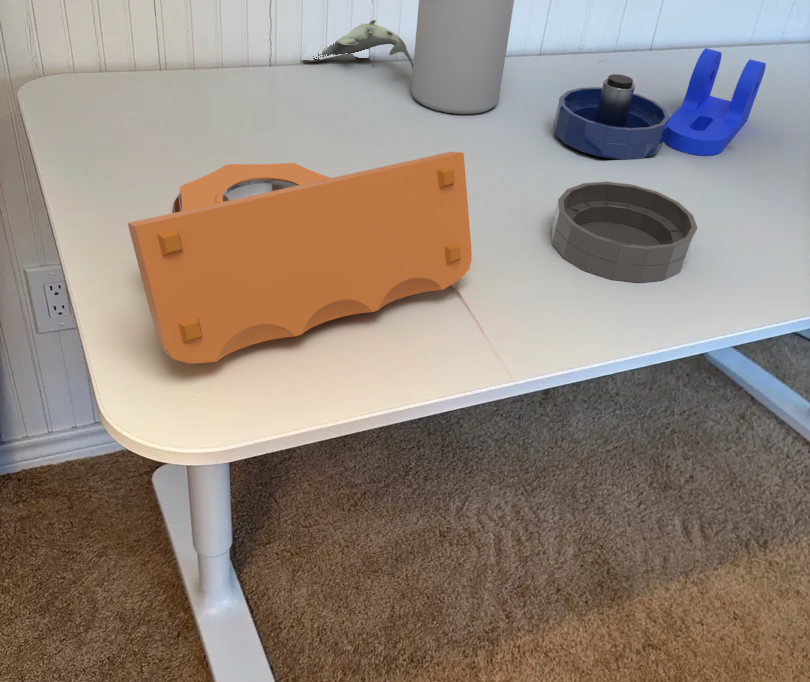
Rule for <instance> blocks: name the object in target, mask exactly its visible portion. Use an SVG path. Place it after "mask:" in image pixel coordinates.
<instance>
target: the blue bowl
mask: <svg viewBox="0 0 810 682" xmlns="http://www.w3.org/2000/svg"><path fill="white" fill-rule="evenodd" d="M602 87H603V86H601V87H599V86H595V87H593V86H592V87H589V86H588V87H578V88H573V89H570V90H566V91H565V92H564V93H563V94H562V95H560V96H559V98H558V104H557V108H556V112H555V113H556V114H555V119H554V123H553V129H554V134H555V136H556V137H557V138H558V139H559V140H560V141H561V142H562V143H563V144H565V145H567V146H568V147H571V148H573V149H574V150H577V151H579V152H582V153H584V154H588V155H592V156H595V157H600V158H604V159H611V160H612V159H613V160H638V159H645V158H648V157H651V156H654V155H656V154H657V153H658V152H659V150H660V149H661V147H663V146H662V145H663V143H664V141H663V139H664V136H665V132H666V129H667V126H668V122H669V119H670V117H671V116H670V115H669V112H668V110H667V109H666V108H665V107H664V106H663V105H661V104H659V103H658V102H657V101H656V100H653V99H651V98H649V97H646V96H644V95H641V94H639V93H634V92H633V96H632V100H631V104H630V108H629V112H628V115H627V119H626V123H625V127H615V126H608V125H604V124H601V123H597V122H594V121H595V117H596V113H597V109H598V104H599V100H600V96H601V92H602Z"/></svg>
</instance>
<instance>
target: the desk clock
mask: <svg viewBox="0 0 810 682" xmlns="http://www.w3.org/2000/svg"><path fill="white" fill-rule="evenodd" d="M466 177H467V176H466V166H465V152H459V151H447V152H443V153H438V154H433V155H429V156H424V157H421V158H416V159H410V160H407V161H406V160H405V161H401V162H398V163H393V164H389V165H384V166H380V167H375V168H369V169H366V170H362V171H357V172H352V173H348V174H343V175H339V176H334V177H329V176H326V175H324V174H321V173H319V172H316V171H314V170H311V169H309V168H306V167H304V166H302V165H300V164H297V163H295V162H285V163H283V162H282V163H261V164H260V163H257V164H255V163H253V164H252V163H251V164H249V163H247V164H246V163H244V164H243V163H228V164H224V165H223V166H221V167H219V168H217V169H216V170H214V171H212V172H210V173H208V174H206V175H204V176H201V177H199V178H197V179H194V180H192V181H190V182H187V183H185V184H182V185H180V186H179V191H178V192H177V193H176V194H175V195H174V196H173V199H172V200H171V201H170V206H169V212H168V213H167V214H163V215H162V214H161V215H158V216H153V217H148V218H145V219H140V220H135V221H132V222H131V221H130V222H127V226H128V231H129V234H130V238H131V243H132V246H133V250H134V253H135V257H136V261H137V266H138V270H139V273H140V278H141V281H142V284H143V289H144V293H145V296H146V301H147V304H148V309H149V312H150V316H151V321H152V324H153V328H154V332H155V336H156V339H157V341H158V344H159V346H160V348H161V349H162V350H163V351H164V353H165V354H166V355H167V356H168V357H170V358H172V360H174V361H177V362H181V363H186V364H190V365H191V364H203V363H216V362H218V361H219V360H222V358H224V357H225V356H227V355H229V354H231V353H234V352H236V351H239V350H241V349H243V348H247V347H249V346H252V345H256V344H259V343H263V342H268V341H273V340H276V339H277V340H278V339H284V338H293V337H298V336H302V335H303V334H305V332H308V331H309V330H310V329H312V328H314V327H317V326H319V325H320V324H324V323H326V322H330V321H333V320H336V319H340V318H343V317H348V316H352V315H353V316H354V315H358V314H366V313H374V312H377V311H379V310H381V308H382V307H384V306H386V305H388V304H390V303H392V302H394V301H396V300H400V299H403V298H406V297H409V296H412V295H413V296H414V295H418V294H422V293H427V292H434V291H443V290H445V289H446V288H448V287H450V286H452V285H453V284H455V283H457V282H458V281H460V280H461V279H462V278H463V277H464V276H465V274H467V272H468V271H469V270H470V267H471V263H472V258H473V257H472V255H473V254H472V253H473V252H472V241H471V240H472V239H471V228H470V226H471V225H470V217H469V213H470V212H469V203H468V202H469V201H468V190H467V178H466Z"/></svg>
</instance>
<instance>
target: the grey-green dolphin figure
mask: <svg viewBox="0 0 810 682" xmlns="http://www.w3.org/2000/svg"><path fill="white" fill-rule="evenodd" d="M376 22H377V20H376V19H373V20H370V21H369V23H360V24H361V25H359V26H358V27H355V28H354V29H353V30H352V31H350V33H348V35H345V36H342V38H340V39H338V40H337V41H336V42H335V44H334V43H333V45H330V46H329V47H327V46H326V48H324V50H323V52H322V55H323V56H322V57H324V55H325V56H326V54H327V56H329V55H331V54H333V55H334V54H335V55H338V54H345V53H348V54H347V55H349V54H351V53H355V52H359V51H362V50H365V49H368V48H369V49H371V48H374V47H378V46H383V45H384V46H385V45H392V46H393V47H392V48H391V49H390V51H389V56H393V55H395V54H398V53H402V54H404V55H405V56H406V58H407V59H408V61H409V63H410V66H411V69H412V70H413V65H414V61H413V60H412V57H411V55H410V53H409V52H408V49H407V46H406V43H405V42H404V40H403V39H402V38H401V37H400V36H399V35H398V34H396V33H395V32H393V31H392V30H390V29H388V28H387V27H384V26H382V25H378V24H376ZM320 55H321V54H320ZM320 55H319V53H318V56H320ZM313 57H314V56H313ZM320 57H321V56H320ZM316 58H317V57H316ZM354 58H355V60H358V61H370V60H371V59H370V57H369V58H358V57H354ZM313 59H314V61H313V62H318V61H317V60H320V59H319V57H318V59H315V58H313ZM315 60H316V61H315Z"/></svg>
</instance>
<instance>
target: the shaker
mask: <svg viewBox="0 0 810 682" xmlns="http://www.w3.org/2000/svg"><path fill="white" fill-rule="evenodd" d="M601 87H602V92H601V96H600V100H599V104H598V109H597V113H596V117H595V121H594V122H597V123H601V124H604V125H608V126H615V127H625V123H626V119H627V115H628V112H629V108H630V104H631V100H632V96H633V93H634V92H635V89H636V85H635V84H634V80H633V78H632V77H630V76H627V75H625V74H618V73H616V74H615V73H614V74H609V75H608V76H607V78H605V79H604V80H603V84H602V86H601Z"/></svg>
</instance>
